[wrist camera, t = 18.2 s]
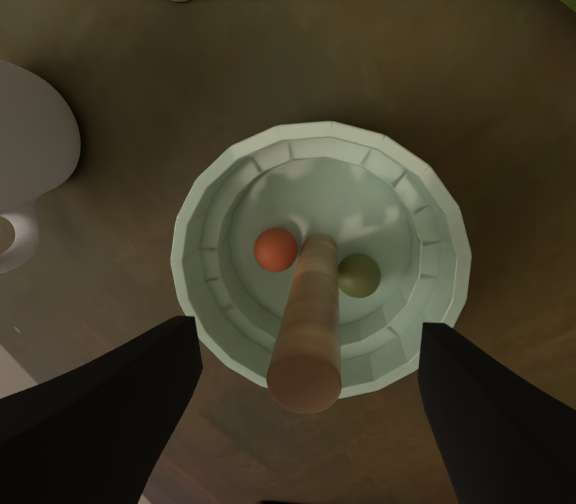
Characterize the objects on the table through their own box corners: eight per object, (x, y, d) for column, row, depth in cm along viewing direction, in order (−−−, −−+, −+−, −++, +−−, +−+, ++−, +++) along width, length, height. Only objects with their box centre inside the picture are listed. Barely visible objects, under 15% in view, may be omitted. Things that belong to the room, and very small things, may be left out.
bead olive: (346, 310, 18) (382, 303, 17) (320, 279, 18) (355, 268, 16) (360, 281, 20) (395, 272, 18) (337, 252, 19) (370, 239, 18)
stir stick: (344, 246, 19) (357, 382, 8) (323, 272, 19) (311, 427, 9) (315, 226, 19) (293, 339, 8) (295, 253, 19) (251, 388, 9)
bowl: (428, 343, 21) (455, 403, 16) (224, 340, 23) (196, 393, 18) (445, 115, 16) (489, 107, 12) (192, 135, 18) (144, 135, 14)
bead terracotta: (292, 268, 20) (257, 248, 20) (310, 235, 18) (272, 214, 19) (279, 287, 18) (240, 265, 18) (297, 252, 16) (256, 228, 17)
